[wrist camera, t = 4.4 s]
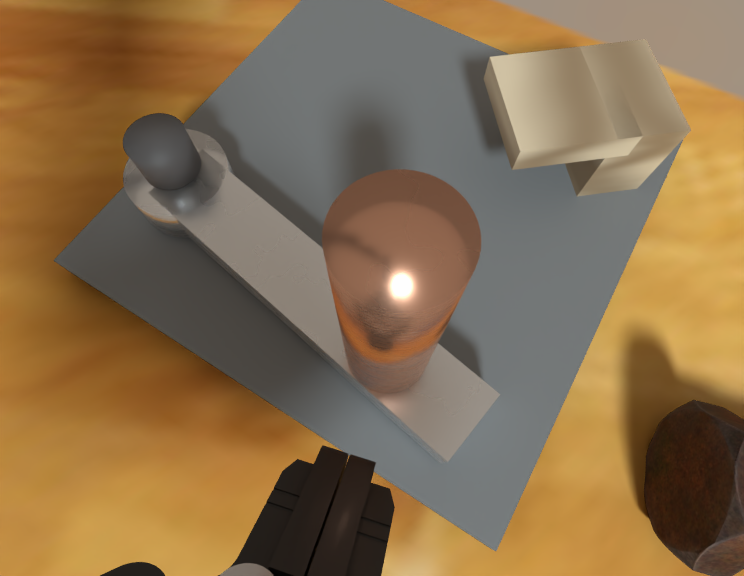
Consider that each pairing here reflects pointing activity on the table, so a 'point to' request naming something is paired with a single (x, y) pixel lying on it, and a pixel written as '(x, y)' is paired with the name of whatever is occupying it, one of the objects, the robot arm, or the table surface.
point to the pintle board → (308, 212)
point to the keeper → (586, 113)
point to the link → (350, 281)
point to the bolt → (698, 487)
